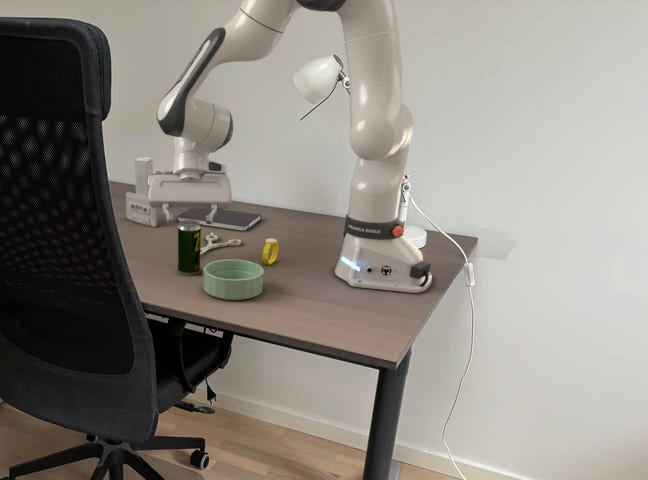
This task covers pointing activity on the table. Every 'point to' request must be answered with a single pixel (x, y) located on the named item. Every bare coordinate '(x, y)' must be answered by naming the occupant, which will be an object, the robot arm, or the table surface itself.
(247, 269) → the bowl
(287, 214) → the table surface
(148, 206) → the cassette
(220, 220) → the notebook
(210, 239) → the scissors
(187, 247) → the beer can
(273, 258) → the watch
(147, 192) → the cosmetic box
